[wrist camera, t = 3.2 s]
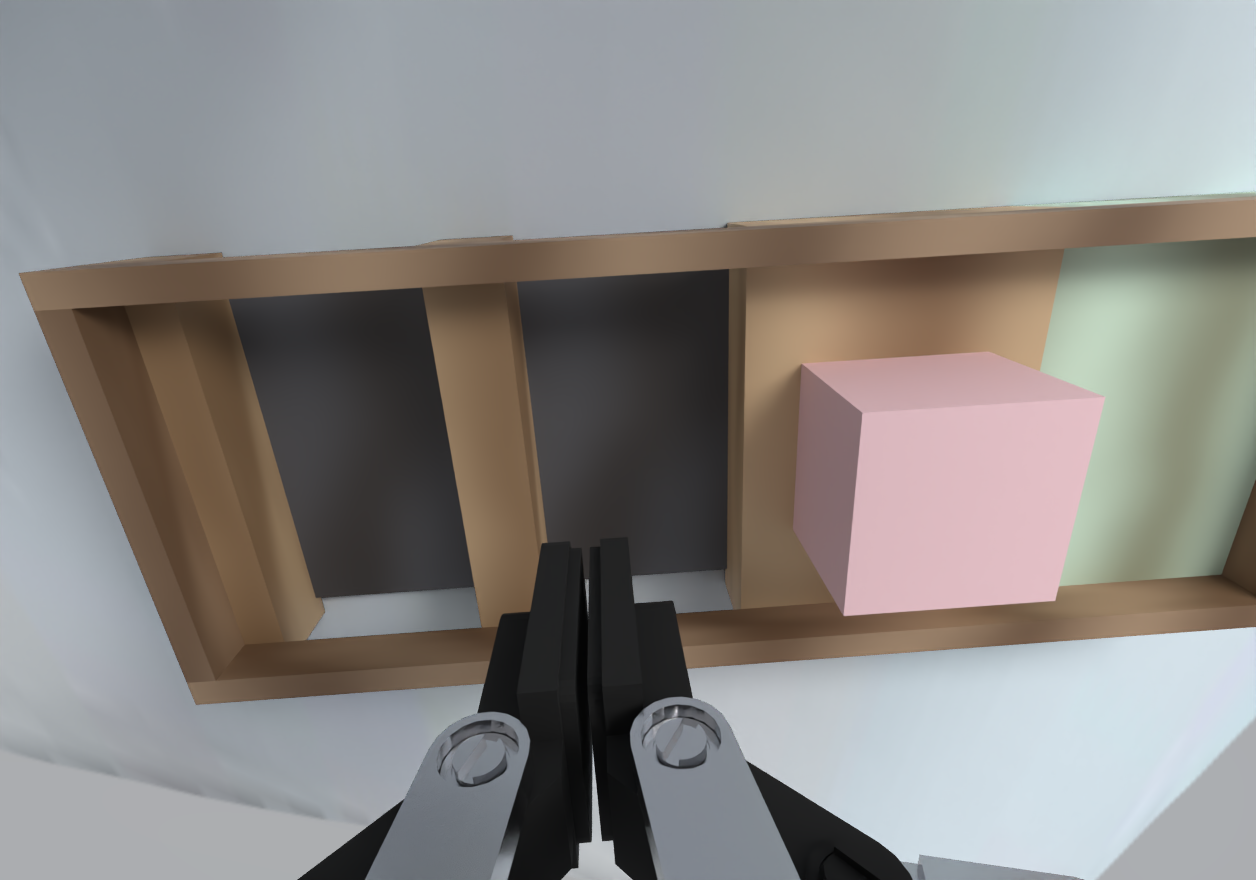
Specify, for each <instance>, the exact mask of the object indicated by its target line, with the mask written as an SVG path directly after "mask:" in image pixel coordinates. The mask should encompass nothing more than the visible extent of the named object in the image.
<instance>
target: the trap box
mask: <svg viewBox="0 0 1256 880" xmlns="http://www.w3.org/2000/svg"><path fill="white" fill-rule="evenodd" d="M19 276H20V278H21V280H22V283H23V285H24V288H25V290H26V293H27V295H28V298H29V300H30V302H31V305H32V307H33V310H34V312H35V315H36V317H37V319H38V322H39V324H40V327H41V329H42V332H43V334H44V336H45V339H46V341H47V344H48V346H49V349H50V351H51V353H52V356H53V358H54V361H55V363H56V366H57V368H58V370H59V373H60V375H61V378H62V380H63V383H64V385H65V387H66V390H67V392H68V395H69V397H70V400H71V402H72V404H73V407H74V409H75V412H76V414H77V417H78V419H79V421H80V424H81V426H82V429H83V431H84V434H85V436H86V439H87V441H88V443H89V446H90V448H91V451H92V453H93V456H94V458H95V460H96V463H97V465H98V468H99V470H100V473H101V475H102V477H103V480H104V482H105V485H106V487H107V490H108V492H109V494H110V497H111V499H112V502H113V504H114V507H115V509H116V511H117V514H118V516H119V519H120V521H121V524H122V526H123V528H124V531H125V533H126V536H127V538H128V541H129V543H130V545H131V548H132V550H133V553H134V555H135V558H136V560H137V562H138V565H139V567H140V570H141V572H142V575H143V577H144V580H145V582H146V584H147V587H148V589H149V592H150V594H151V597H152V599H153V601H154V604H155V606H156V609H157V611H158V614H159V616H160V618H161V621H162V623H163V626H164V628H165V631H166V633H167V635H168V638H169V640H170V643H171V645H172V648H173V650H174V652H175V655H176V657H177V660H178V662H179V665H180V667H181V669H182V672H183V674H184V677H185V679H186V682H187V684H188V686H189V689H190V691H191V694H192V696H193V699H194V701H195V703H196V705H199V704H213V703H227V702H240V701H254V700H267V699H281V698H295V697H308V696H322V695H335V694H349V693H363V692H376V691H390V690H403V689H417V688H431V687H444V686H458V685H471V684H485V679H486V675H487V671H488V667H489V663H490V658H491V654H492V650H493V646H494V642H495V637H496V633H497V629H498V625H499V621H500V618H501V615H502V614H504V613H518V612H530V610H531V604H532V598H533V592H534V586H535V580H536V574H537V568H538V562H539V556H540V550H541V545H542V543H550V542H564V541H570V543H571V548H581V549H582V558H583V568H584V579H589V560H590V547H596V546H600V539H605V538H619V537H628V545H629V555H630V565H631V576H635V575H649V574H663V573H677V572H691V571H706V570H720V569H725V584H726V587H727V590H728V594H729V597H730V600H731V603H732V606H733V609H734V610H721V611H707V612H693V613H679V614H676V617H677V622H678V627H679V632H680V637H681V642H682V647H683V652H684V657H685V662H686V667H687V669H689V668H703V667H716V666H730V665H743V664H757V663H771V662H784V661H798V660H811V659H825V658H839V657H852V656H866V655H879V654H893V653H907V652H920V651H934V650H947V649H961V648H974V647H988V646H1002V645H1015V644H1029V643H1042V642H1056V641H1070V640H1083V639H1097V638H1110V637H1124V636H1138V635H1151V634H1165V633H1178V632H1192V631H1206V630H1219V629H1233V628H1246V627H1256V192H1240V193H1223V194H1206V195H1189V196H1172V197H1155V198H1138V199H1121V200H1104V201H1088V202H1071V203H1054V204H1037V205H1020V206H1003V207H986V208H969V209H952V210H935V211H918V212H901V213H885V214H868V215H851V216H834V217H817V218H800V219H783V220H766V221H749V222H732V223H727V228H711V229H694V230H677V231H660V232H644V233H627V234H610V235H593V236H576V237H559V238H542V239H525V240H513V235H512V236H495V237H479V238H462V239H445V240H437V241H433V242H429V243H425V244H421V245H417V246H407V247H390V248H374V249H357V250H340V251H323V252H306V253H289V254H272V255H255V256H239V257H223V256H222V253H208V254H191V255H174V256H157V257H144V258H136V259H128V260H120V261H112V262H104V263H96V264H89V265H81V266H73V267H65V268H57V269H49V270H41V271H33V272H25V273H19ZM975 352H991V353H994V354H996V355H999V356H1001V357H1004V358H1007V359H1009V360H1012V361H1014V362H1017V363H1019V364H1022V365H1025V366H1027V367H1030V368H1032V369H1035V370H1037V371H1040V372H1043V373H1045V374H1048V375H1050V376H1053V377H1055V378H1058V379H1061V380H1063V381H1066V382H1068V383H1071V384H1073V385H1076V386H1079V387H1081V388H1084V389H1086V390H1089V391H1091V392H1094V393H1096V394H1099V395H1102V396H1104V397H1105V401H1104V405H1103V409H1102V413H1101V417H1100V421H1099V425H1098V429H1097V434H1096V438H1095V442H1094V446H1093V450H1092V454H1091V458H1090V462H1089V466H1088V470H1087V474H1086V478H1085V482H1084V486H1083V490H1082V494H1081V498H1080V502H1079V506H1078V511H1077V515H1076V519H1075V523H1074V527H1073V531H1072V535H1071V539H1070V543H1069V547H1068V551H1067V555H1066V559H1065V563H1064V567H1063V571H1062V575H1061V579H1060V583H1059V588H1058V592H1057V596H1056V600H1055V601H1046V602H1032V603H1018V604H1004V605H990V606H977V607H963V608H949V609H935V610H921V611H907V612H893V613H880V614H866V615H852V616H843V614H842V613H841V611H840V609H839V607H838V606H837V604H836V602H835V601H834V599H833V597H832V595H831V594H830V592H829V590H828V589H827V587H826V585H825V583H824V582H823V580H822V578H821V577H820V575H819V573H818V572H817V570H816V568H815V566H814V565H813V563H812V561H811V560H810V558H809V556H808V554H807V553H806V551H805V549H804V548H803V546H802V544H801V542H800V541H799V539H798V537H797V536H796V534H795V532H794V531H793V518H794V499H795V480H796V461H797V442H798V423H799V404H800V385H801V366H802V364H803V363H818V362H834V361H850V360H865V359H881V358H897V357H912V356H928V355H944V354H959V353H975ZM464 587H475V592H476V598H477V604H478V609H479V615H480V621H481V627H482V628H470V629H456V630H442V631H428V632H414V633H400V634H386V635H372V636H358V637H344V638H330V639H316V640H307V638H308V637H309V635H310V634H311V632H312V631H313V629H314V628H315V626H316V625H317V623H318V622H319V620H320V619H321V617H322V616H323V614H324V613H325V609H324V606H323V603H322V599H321V598H322V597H336V596H350V595H365V594H379V593H393V592H407V591H422V590H436V589H450V588H464Z"/></svg>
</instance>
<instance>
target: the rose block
mask: <svg viewBox="0 0 1256 880" xmlns="http://www.w3.org/2000/svg"><path fill="white" fill-rule="evenodd" d="M1104 401H1105V397H1104V396H1102V395H1099V394H1096V393H1094V392H1091V391H1089V390H1086V389H1084V388H1081V387H1079V386H1076V385H1073V384H1071V383H1068V382H1066V381H1063V380H1061V379H1058V378H1055V377H1053V376H1050V375H1048V374H1045V373H1043V372H1040V371H1037V370H1035V369H1032V368H1030V367H1027V366H1025V365H1022V364H1019V363H1017V362H1014V361H1012V360H1009V359H1007V358H1004V357H1001V356H999V355H996V354H994V353H991V352H975V353H959V354H944V355H928V356H912V357H897V358H881V359H865V360H850V361H834V362H818V363H803V364H802V366H801V385H800V404H799V423H798V442H797V461H796V480H795V499H794V518H793V531H794V532H795V534H796V536H797V537H798V539H799V541H800V542H801V544H802V546H803V548H804V549H805V551H806V553H807V554H808V556H809V558H810V560H811V561H812V563H813V565H814V566H815V568H816V570H817V572H818V573H819V575H820V577H821V578H822V580H823V582H824V583H825V585H826V587H827V589H828V590H829V592H830V594H831V595H832V597H833V599H834V601H835V602H836V604H837V606H838V607H839V609H840V611H841V613H842V614H843V616H852V615H866V614H880V613H893V612H907V611H921V610H935V609H949V608H963V607H977V606H990V605H1004V604H1018V603H1032V602H1046V601H1055V600H1056V596H1057V592H1058V588H1059V583H1060V579H1061V575H1062V571H1063V567H1064V563H1065V559H1066V555H1067V551H1068V547H1069V543H1070V539H1071V535H1072V531H1073V527H1074V523H1075V519H1076V515H1077V511H1078V506H1079V502H1080V498H1081V494H1082V490H1083V486H1084V482H1085V478H1086V474H1087V470H1088V466H1089V462H1090V458H1091V454H1092V450H1093V446H1094V442H1095V438H1096V434H1097V429H1098V425H1099V421H1100V417H1101V413H1102V409H1103V405H1104Z"/></svg>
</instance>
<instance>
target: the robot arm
mask: <svg viewBox="0 0 1256 880" xmlns="http://www.w3.org/2000/svg"><path fill="white" fill-rule="evenodd" d="M592 744H593V754H594V764H595V774H596V784H597V795H598V805H599V815H600V825H601V835H602V841H610V840H613V843H614V854H615V864H616V865H617V866H618V867H619V868H620V869H621V870H623V871H624V872H625V873H626V874H627V875H628V876H629V877H630V878H632V879H633V880H1083V879H1080V878H1077V877H1072V876H1065V875H1058V874H1051V873H1044V872H1037V871H1030V870H1023V869H1015V868H1008V867H1001V866H994V865H987V864H980V863H973V862H966V861H959V860H952V859H945V858H938V857H931V856H924V855H919V861H918V864H915V863H908V862H901V861H899V859H898V858H897V857H896V856H895V855H894V854H893V853H891V852H890V851H889V850H888V849H886V848H885V847H884V846H882V845H881V844H880V843H879V842H877V841H875V840H874V839H872V838H871V837H869V836H867V835H866V834H864V833H862V832H861V831H859V830H858V829H856V828H854V827H853V826H851V825H850V824H848V823H846V822H845V821H843V820H841V819H840V818H838V817H837V816H835V815H833V814H832V813H830V812H829V811H827V810H825V809H824V808H822V807H820V806H819V805H817V804H816V803H814V802H812V801H811V800H809V799H808V798H806V797H804V796H803V795H801V794H799V793H798V792H796V791H795V790H793V789H791V788H790V787H788V786H787V785H785V784H783V783H782V782H780V781H778V780H777V779H775V778H774V777H772V776H770V775H769V774H767V773H766V772H764V771H762V770H761V769H759V768H757V767H756V766H754V765H753V764H751V763H749V762H748V761H746V760H745V757H744V755H743V753H742V751H741V749H740V747H739V744H738V742H737V740H736V738H735V736H734V733H733V731H732V729H731V727H730V725H729V723H728V722H727V720H726V719H725V717H724V716H723V715H722V713H720V712H719V711H718V710H717V709H715V708H714V707H713V706H712V705H710V704H708V703H705V702H703V701H701V700H698V699H694V698H693V697H692V692H691V687H690V682H689V677H688V672H687V667H686V662H685V657H684V652H683V647H682V642H681V637H680V632H679V627H678V622H677V617H676V612H675V607H674V603H673V601H662V602H649V603H636V604H634V596H633V586H632V576H631V565H630V555H629V545H628V537H619V538H605V539H600V546H596V547H590V560H589V612H588V611H587V600H586V590H585V579H584V568H583V558H582V549H581V548H571V543H570V541H564V542H550V543H542V545H541V550H540V556H539V562H538V568H537V574H536V580H535V586H534V592H533V598H532V604H531V610H530V612H518V613H504V614H502V615H501V618H500V621H499V625H498V629H497V633H496V637H495V642H494V646H493V650H492V654H491V658H490V663H489V667H488V671H487V675H486V679H485V684H484V688H483V692H482V696H481V700H480V705H479V709H478V713H477V714H474V715H471V716H468V717H465V718H463V719H461V720H459V721H457V722H456V723H454V724H452V725H450V726H449V727H448V728H447V729H445V730H444V731H443V732H442V733H441V734H440V735H439V736H438V737H437V738H436V740H435V741H434V742H433V744H432V745H431V747H430V748H429V750H428V752H427V754H426V756H425V758H424V760H423V762H422V764H421V766H420V768H419V770H418V772H417V775H416V777H415V779H414V781H413V783H412V785H411V787H410V789H409V791H408V793H407V795H406V797H405V799H404V800H402V801H401V802H400V803H398V804H397V805H396V806H394V807H393V808H392V809H390V810H389V811H388V812H386V813H385V814H384V815H382V816H381V817H380V818H379V819H377V820H376V821H375V822H373V823H372V824H371V825H369V826H368V827H367V828H365V829H364V830H363V831H361V832H360V833H359V834H358V835H356V836H355V837H353V838H352V839H351V840H349V841H348V842H347V843H346V844H344V845H343V846H342V847H340V848H339V849H338V850H336V851H335V852H334V853H332V854H331V855H330V856H328V857H327V858H326V859H324V860H323V861H322V862H320V863H319V864H318V865H316V866H315V867H314V868H312V869H311V870H310V871H308V872H307V873H306V874H304V875H303V876H302V877H300V878H299V879H298V880H561V879H562V878H563V877H564V876H565V875H566V874H567V873H568V872H569V871H570V870H571V869H573V868H578V861H579V843H587V842H591V841H592Z"/></svg>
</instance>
